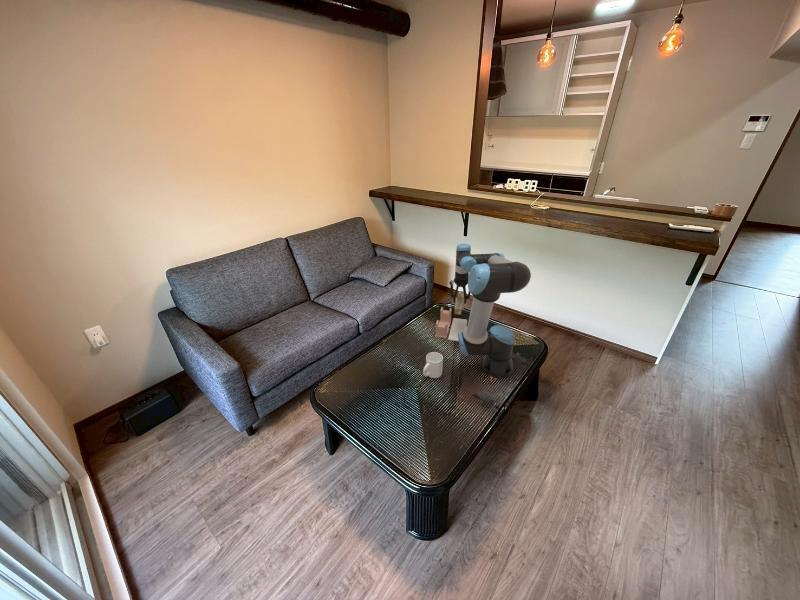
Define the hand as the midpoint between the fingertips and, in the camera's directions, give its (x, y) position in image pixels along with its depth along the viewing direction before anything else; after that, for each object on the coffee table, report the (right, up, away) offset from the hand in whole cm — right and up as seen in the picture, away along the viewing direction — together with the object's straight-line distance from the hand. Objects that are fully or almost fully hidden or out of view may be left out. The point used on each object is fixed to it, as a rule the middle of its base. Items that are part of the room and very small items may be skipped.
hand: (459, 307), depth 180 cm
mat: (+1, -14, +7) cm, 16 cm away
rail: (0, +2, -1) cm, 2 cm away
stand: (-8, -13, +10) cm, 18 cm away
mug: (-19, -34, -26) cm, 47 cm away
